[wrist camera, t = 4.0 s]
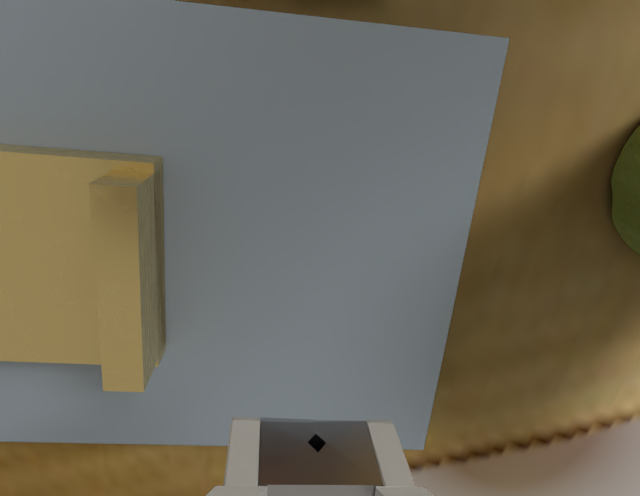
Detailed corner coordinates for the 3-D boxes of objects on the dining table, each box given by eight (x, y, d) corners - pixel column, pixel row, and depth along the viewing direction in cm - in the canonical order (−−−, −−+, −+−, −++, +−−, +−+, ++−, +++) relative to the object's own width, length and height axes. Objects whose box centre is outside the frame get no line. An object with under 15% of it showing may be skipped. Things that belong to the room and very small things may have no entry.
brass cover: (162, 156, 15) (135, 175, 12) (166, 347, 18) (143, 400, 15) (-75, 137, 14) (-161, 153, 12) (-39, 339, 17) (-103, 393, 14)
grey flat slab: (478, 42, 17) (509, 38, 15) (408, 410, 23) (423, 449, 20) (-201, -33, 15) (-291, -52, 13) (-98, 396, 20) (-147, 438, 18)
